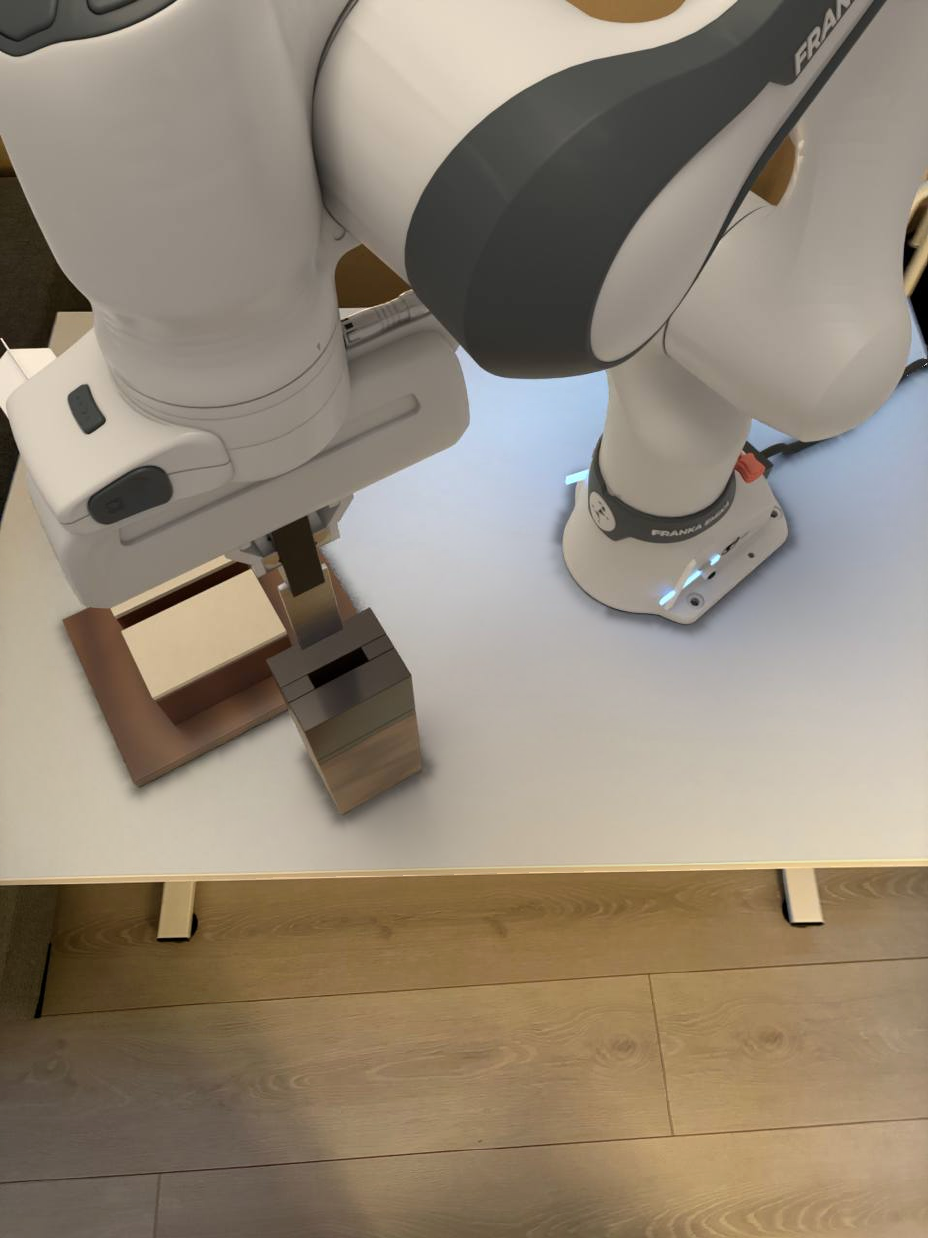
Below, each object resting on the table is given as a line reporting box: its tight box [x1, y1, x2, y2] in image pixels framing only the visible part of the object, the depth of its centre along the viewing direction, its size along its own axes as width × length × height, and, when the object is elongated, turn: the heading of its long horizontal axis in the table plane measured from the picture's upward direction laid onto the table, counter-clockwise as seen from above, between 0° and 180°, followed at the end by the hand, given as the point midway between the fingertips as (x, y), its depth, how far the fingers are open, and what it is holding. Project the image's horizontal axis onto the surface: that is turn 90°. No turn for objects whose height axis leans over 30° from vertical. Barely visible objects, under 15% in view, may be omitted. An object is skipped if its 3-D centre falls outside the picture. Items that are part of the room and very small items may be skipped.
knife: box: [268, 515, 343, 650], centre depth 52 cm, size 3×2×16 cm, turn 121°
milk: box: [0, 337, 58, 420], centre depth 82 cm, size 6×6×22 cm
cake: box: [121, 569, 292, 725], centre depth 80 cm, size 12×7×7 cm, turn 120°
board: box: [61, 547, 359, 788], centre depth 85 cm, size 24×18×2 cm
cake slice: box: [110, 555, 250, 630], centre depth 83 cm, size 12×4×6 cm, turn 120°
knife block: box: [266, 606, 423, 816], centre depth 71 cm, size 8×6×21 cm
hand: (292, 548), depth 49 cm, fingers closed on knife, 2 cm apart
